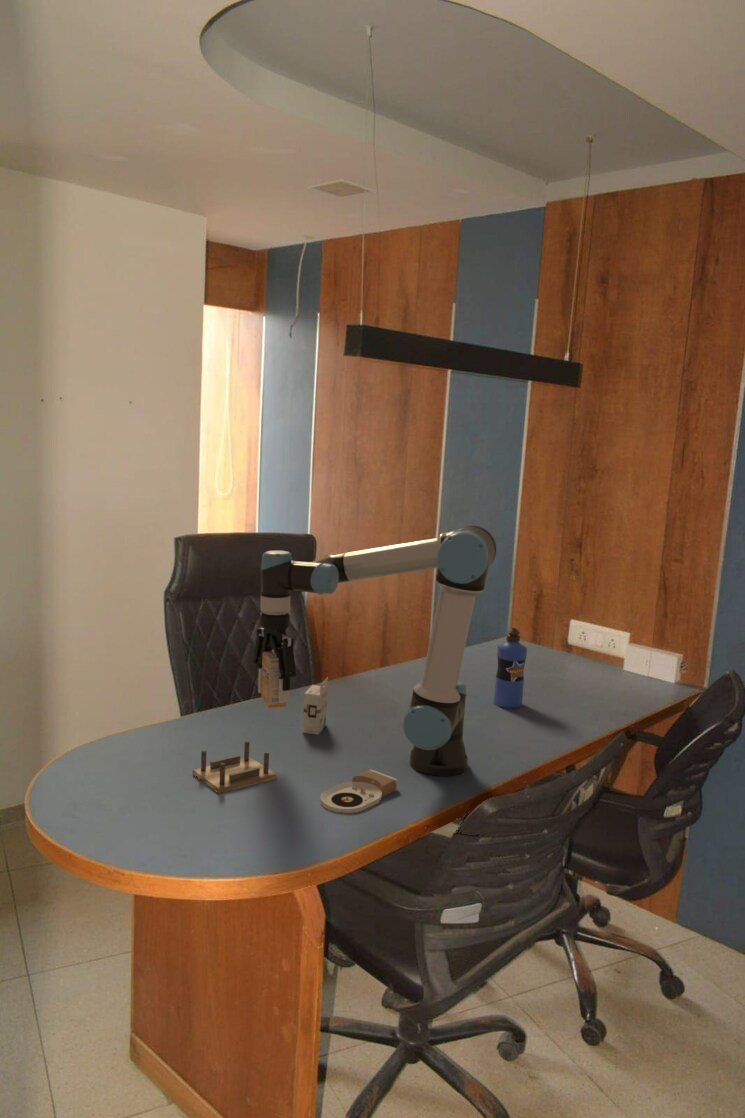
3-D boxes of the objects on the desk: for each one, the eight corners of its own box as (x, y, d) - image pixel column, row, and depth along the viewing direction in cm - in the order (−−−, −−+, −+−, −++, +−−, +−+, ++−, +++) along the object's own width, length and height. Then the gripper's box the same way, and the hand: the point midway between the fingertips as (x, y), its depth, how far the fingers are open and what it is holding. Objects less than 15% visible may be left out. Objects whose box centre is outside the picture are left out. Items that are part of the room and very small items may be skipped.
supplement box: (260, 698, 232) (261, 650, 230) (278, 697, 234) (279, 648, 232) (268, 708, 225) (269, 658, 223) (286, 707, 226) (287, 657, 224)
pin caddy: (276, 778, 219) (277, 754, 218) (218, 793, 208) (219, 768, 207) (248, 761, 228) (249, 738, 227) (192, 774, 218) (193, 750, 217)
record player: (402, 781, 215) (348, 807, 199) (401, 793, 215) (347, 820, 200) (365, 767, 222) (310, 791, 207) (364, 778, 223) (309, 804, 207)
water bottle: (527, 707, 284) (534, 631, 279) (502, 709, 280) (508, 632, 276) (512, 698, 292) (519, 624, 288) (487, 700, 289) (493, 625, 284)
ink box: (310, 723, 259) (312, 674, 256) (326, 725, 258) (328, 676, 255) (301, 733, 250) (304, 682, 248) (318, 735, 249) (321, 684, 247)
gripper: (312, 618, 220) (309, 705, 223) (265, 602, 236) (263, 683, 240) (286, 621, 215) (284, 711, 218) (240, 605, 231) (239, 688, 235)
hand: (273, 696), depth 229 cm, fingers closed on supplement box, 9 cm apart
